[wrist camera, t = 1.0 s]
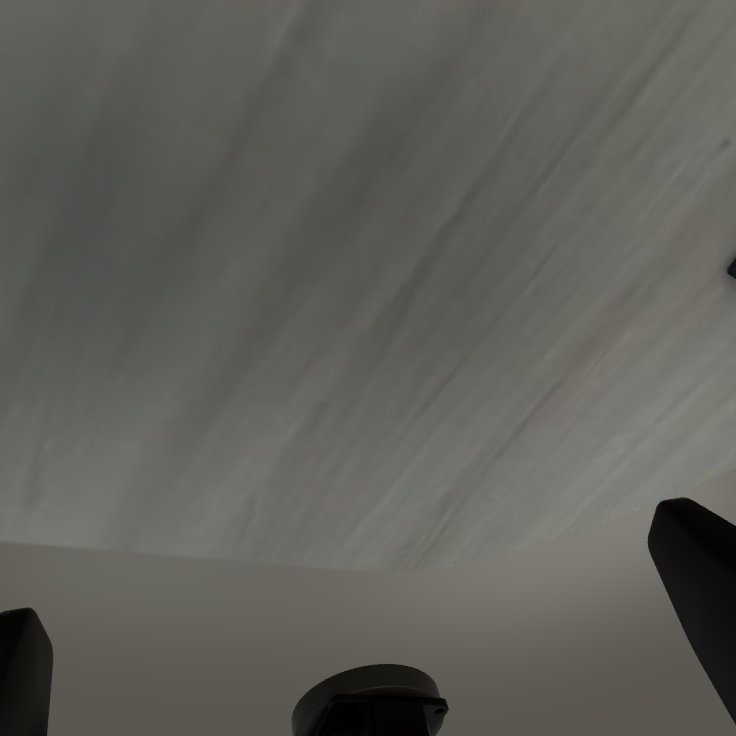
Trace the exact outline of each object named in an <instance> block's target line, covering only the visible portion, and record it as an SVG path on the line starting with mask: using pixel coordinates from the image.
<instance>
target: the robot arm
mask: <svg viewBox="0 0 736 736" xmlns="http://www.w3.org/2000/svg"><path fill="white" fill-rule="evenodd" d="M648 548H649V552H650V554H651V557H652V559H653V561H654V563H655V566H656V568H657V570H658V572H659V575H660V577H661V579H662V581H663V584H664V586H665V588H666V591H667V593H668V595H669V597H670V600H671V602H672V604H673V607H674V609H675V611H676V613H677V616H678V618H679V620H680V622H681V625H682V627H683V629H684V632H685V634H686V636H687V638H688V640H689V642H690V644H691V646H692V648H693V650H694V652H695V654H696V655H697V657H698V659H699V661H700V663H701V665H702V666H703V668H704V670H705V672H706V673H707V675H708V677H709V679H710V680H711V682H712V684H713V686H714V688H715V689H716V691H717V693H718V695H719V696H720V698H721V699H722V702H723V703H724V705H725V707H726V709H727V710H728V712H729V714H730V716H731V717H732V719H733V721H734V723H735V724H736V526H735V525H733V524H731V523H730V522H728V521H727V520H725V519H723V518H722V517H720V516H718V515H717V514H715V513H713V512H712V511H709V510H708V509H707V508H705V507H703V506H701V505H700V504H698V503H696V502H695V501H693V500H691V499H688V498H684V497H683V498H675V499H669V500H664V501H661V502H660V503H659V504H658V505H657V507H656V511H655V514H654V518H653V521H652V524H651V528H650V531H649V535H648ZM52 668H53V649H52V644H51V642H50V639H49V637H48V635H47V633H46V631H45V629H44V627H43V625H42V623H41V621H40V619H39V618H38V615H37V613H36V612H35V611H34V610H33V609H32V608H21V609H15V610H9V611H4V612H1V613H0V736H47V728H48V717H49V705H50V692H51V681H52ZM448 710H449V709H448V705H447V702H446V700H445V699H443V698H428V697H406V696H384V695H362V694H337V695H335V696H333V697H332V698H331V699H330V700H329V702H328V704H327V705H326V707H325V709H324V711H323V712H322V714H321V716H320V718H319V719H318V721H317V723H316V725H315V726H314V728H313V730H312V732H311V733H310V735H309V736H431V734H432V733H433V731H434V730H435V728H436V727H437V726H438V724H439V723H440V722H441V720H442V719H443V717H444V716H445V715H446V713H447V712H448Z"/></svg>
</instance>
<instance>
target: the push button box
mask: <svg viewBox="0 0 736 736" xmlns="http://www.w3.org/2000/svg"><path fill="white" fill-rule="evenodd" d="M728 274H729V275H731V276H732V277H734V278H735V279H736V260H735V262H734V263H733V265H732V266H731V268H730V269H729V270H728Z"/></svg>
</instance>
